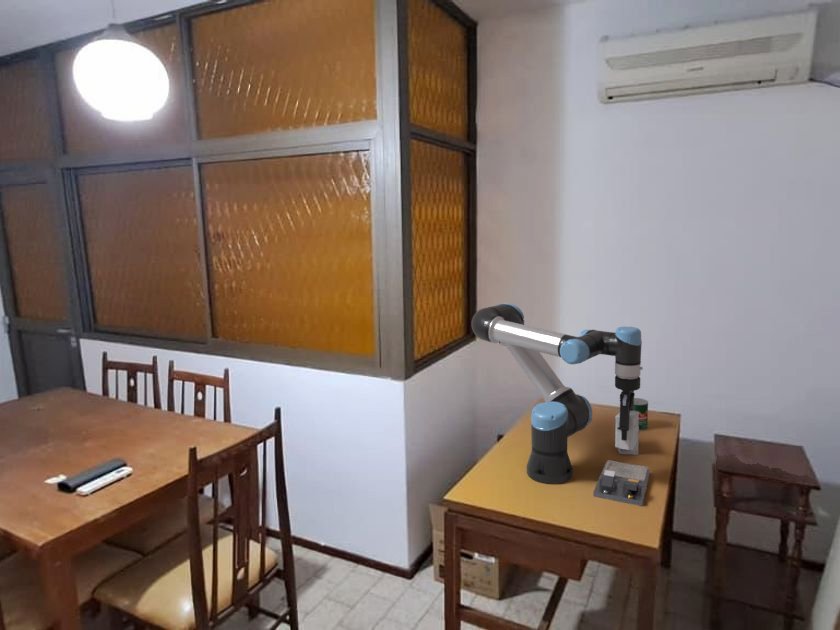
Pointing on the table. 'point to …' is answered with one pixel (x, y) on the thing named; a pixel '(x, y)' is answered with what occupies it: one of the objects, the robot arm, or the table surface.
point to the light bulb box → (624, 451)
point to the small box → (632, 429)
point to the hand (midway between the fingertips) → (626, 443)
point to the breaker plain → (608, 480)
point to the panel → (624, 483)
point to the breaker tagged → (632, 484)
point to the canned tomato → (641, 412)
